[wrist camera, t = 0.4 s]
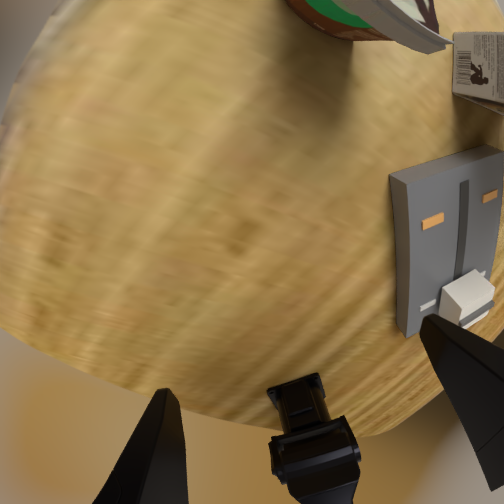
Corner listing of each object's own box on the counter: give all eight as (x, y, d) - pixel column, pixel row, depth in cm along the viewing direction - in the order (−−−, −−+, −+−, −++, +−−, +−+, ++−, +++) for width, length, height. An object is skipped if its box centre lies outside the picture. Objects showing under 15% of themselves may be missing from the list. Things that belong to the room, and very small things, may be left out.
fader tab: (469, 295, 27) (489, 317, 23) (438, 314, 27) (457, 338, 24) (475, 268, 25) (498, 290, 21) (442, 287, 25) (464, 312, 22)
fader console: (475, 281, 30) (487, 293, 28) (396, 323, 31) (406, 339, 28) (486, 144, 21) (505, 152, 19) (389, 174, 21) (408, 185, 19)
